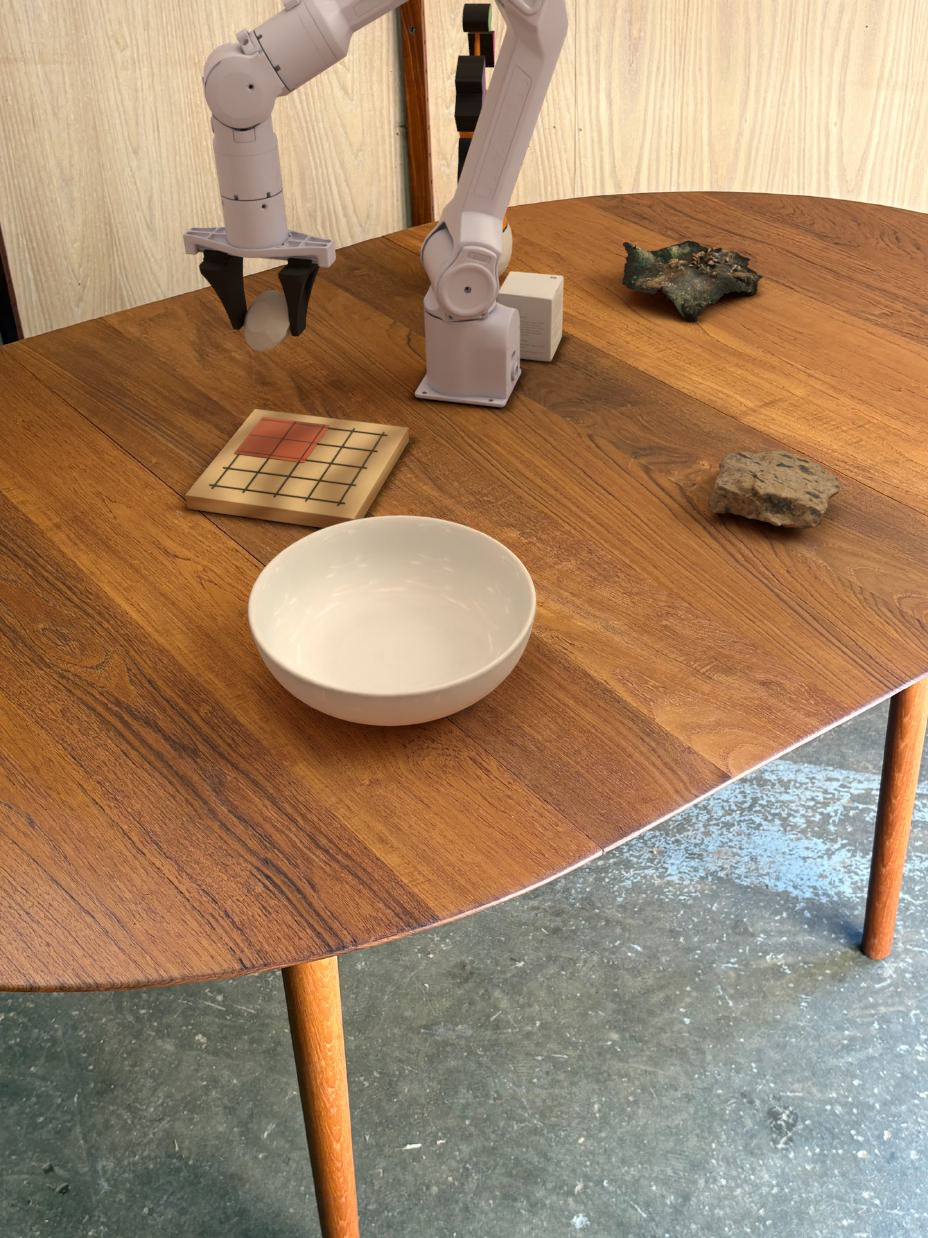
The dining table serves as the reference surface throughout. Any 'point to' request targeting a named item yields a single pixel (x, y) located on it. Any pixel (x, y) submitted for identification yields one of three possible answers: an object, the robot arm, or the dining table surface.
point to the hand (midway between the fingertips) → (269, 328)
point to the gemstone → (267, 321)
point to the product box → (535, 311)
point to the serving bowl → (392, 618)
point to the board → (299, 469)
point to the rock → (773, 488)
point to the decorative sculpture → (476, 92)
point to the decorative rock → (688, 274)
